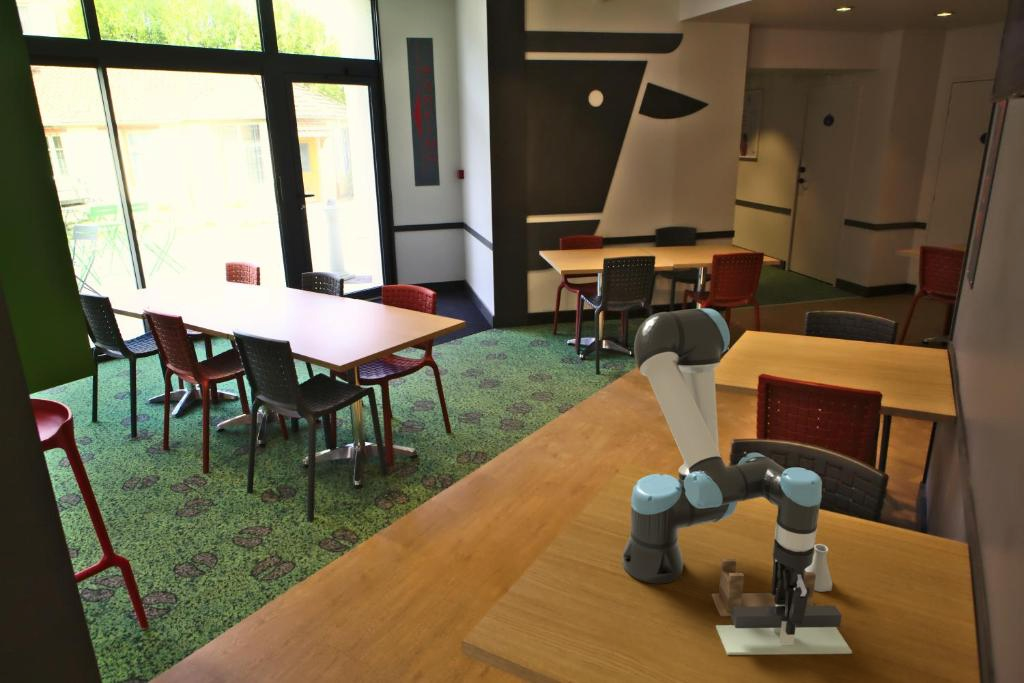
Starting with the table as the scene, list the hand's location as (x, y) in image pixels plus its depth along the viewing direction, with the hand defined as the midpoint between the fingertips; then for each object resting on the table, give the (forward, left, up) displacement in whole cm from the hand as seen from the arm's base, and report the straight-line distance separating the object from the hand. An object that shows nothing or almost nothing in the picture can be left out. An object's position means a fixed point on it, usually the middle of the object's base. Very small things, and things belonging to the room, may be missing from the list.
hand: (782, 636), depth 139 cm
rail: (0, 0, +4) cm, 4 cm away
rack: (-6, +10, -1) cm, 11 cm away
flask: (+4, +24, -1) cm, 25 cm away
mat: (0, 0, -1) cm, 1 cm away
